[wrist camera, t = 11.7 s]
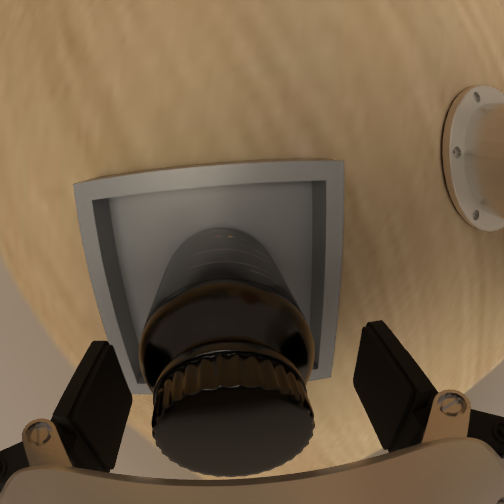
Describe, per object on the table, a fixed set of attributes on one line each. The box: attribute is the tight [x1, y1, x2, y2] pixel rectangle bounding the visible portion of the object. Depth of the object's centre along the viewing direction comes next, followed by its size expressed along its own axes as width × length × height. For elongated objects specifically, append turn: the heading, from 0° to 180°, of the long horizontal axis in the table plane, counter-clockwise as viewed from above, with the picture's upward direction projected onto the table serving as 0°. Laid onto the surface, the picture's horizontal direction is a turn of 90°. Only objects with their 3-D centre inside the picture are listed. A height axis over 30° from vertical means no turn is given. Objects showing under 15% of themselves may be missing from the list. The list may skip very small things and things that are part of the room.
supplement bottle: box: [139, 229, 315, 477], centre depth 13 cm, size 7×7×12 cm
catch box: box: [73, 158, 344, 394], centre depth 18 cm, size 14×14×4 cm
